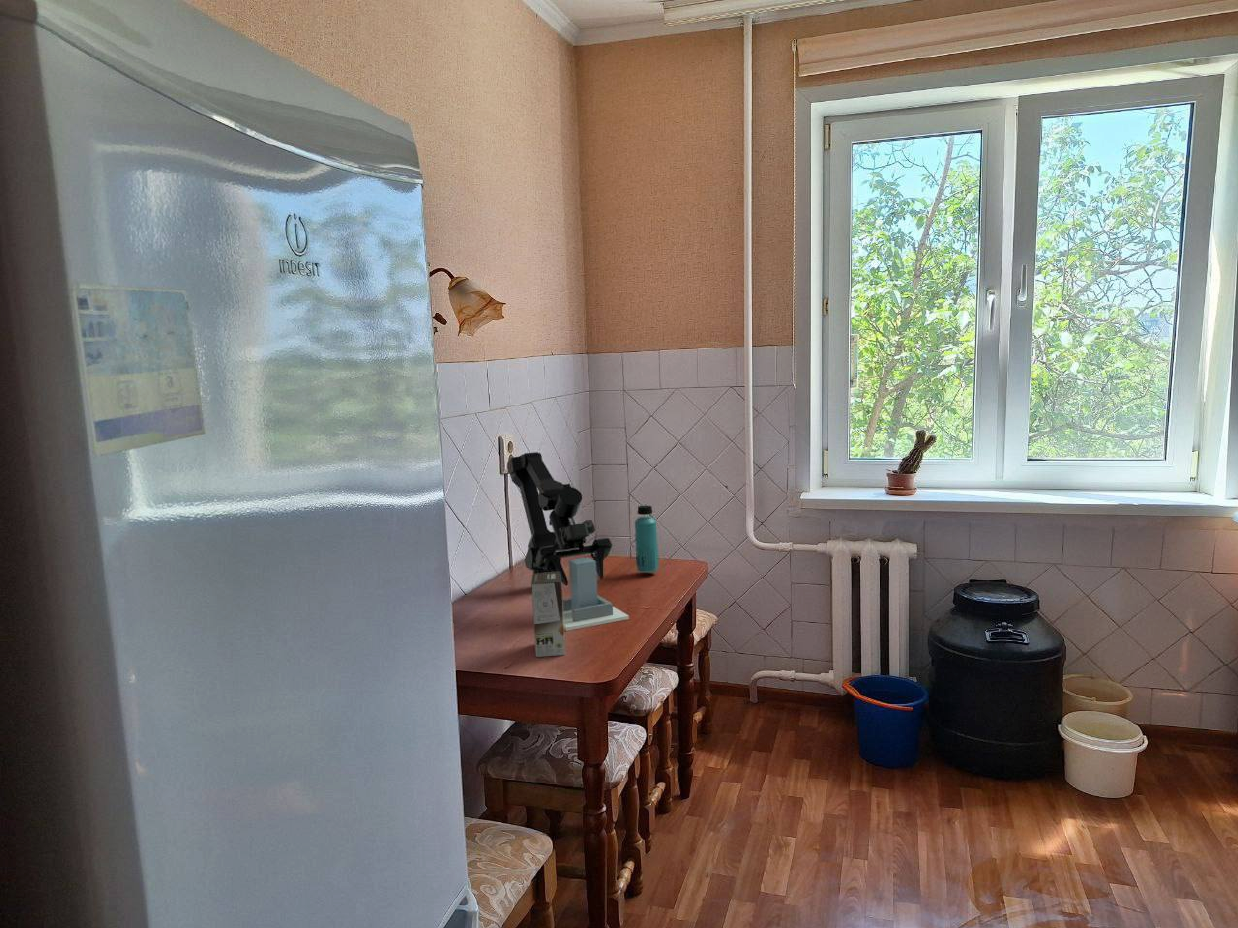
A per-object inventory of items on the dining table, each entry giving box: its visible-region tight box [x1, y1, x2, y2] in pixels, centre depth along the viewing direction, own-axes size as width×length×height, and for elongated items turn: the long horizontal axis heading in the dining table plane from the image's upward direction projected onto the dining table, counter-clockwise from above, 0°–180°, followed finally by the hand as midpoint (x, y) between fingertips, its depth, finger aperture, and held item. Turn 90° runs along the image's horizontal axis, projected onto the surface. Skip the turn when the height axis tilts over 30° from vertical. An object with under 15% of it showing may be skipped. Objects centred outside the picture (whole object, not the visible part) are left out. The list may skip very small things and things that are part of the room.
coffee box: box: [530, 572, 565, 658], centre depth 178 cm, size 9×6×16 cm
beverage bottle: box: [634, 505, 660, 573], centre depth 235 cm, size 6×7×20 cm
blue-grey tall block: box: [568, 556, 598, 610], centre depth 200 cm, size 5×5×13 cm
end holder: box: [562, 595, 630, 632], centre depth 201 cm, size 16×16×4 cm
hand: (584, 581), depth 199 cm, fingers open, 9 cm apart
